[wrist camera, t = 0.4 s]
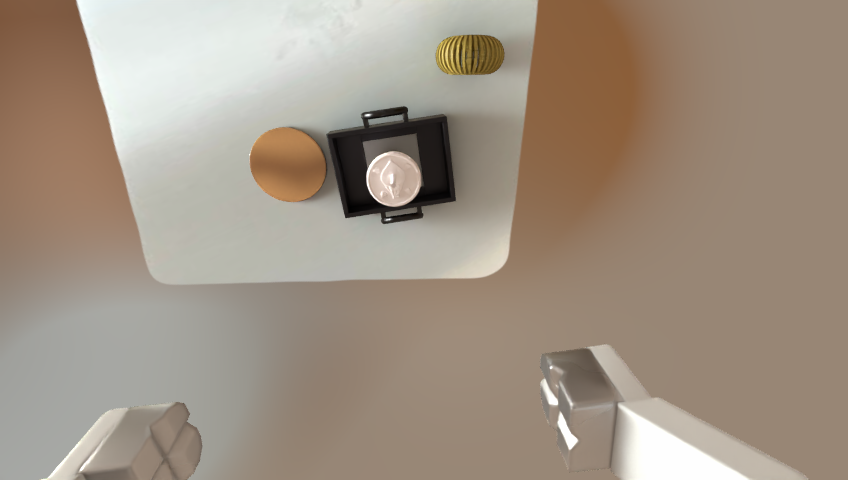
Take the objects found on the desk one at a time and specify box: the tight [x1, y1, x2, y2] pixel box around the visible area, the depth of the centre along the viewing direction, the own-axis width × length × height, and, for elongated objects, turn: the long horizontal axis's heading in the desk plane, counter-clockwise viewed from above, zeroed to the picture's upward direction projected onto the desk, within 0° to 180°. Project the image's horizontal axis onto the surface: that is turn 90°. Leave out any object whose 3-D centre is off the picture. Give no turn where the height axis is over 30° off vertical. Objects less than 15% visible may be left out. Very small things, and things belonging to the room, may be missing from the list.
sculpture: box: [436, 35, 504, 75], centre depth 46 cm, size 8×4×8 cm, turn 90°
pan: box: [326, 106, 456, 224], centre depth 53 cm, size 15×15×3 cm
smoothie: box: [367, 151, 421, 207], centre depth 48 cm, size 6×6×14 cm
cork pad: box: [250, 127, 327, 202], centre depth 53 cm, size 10×10×1 cm
